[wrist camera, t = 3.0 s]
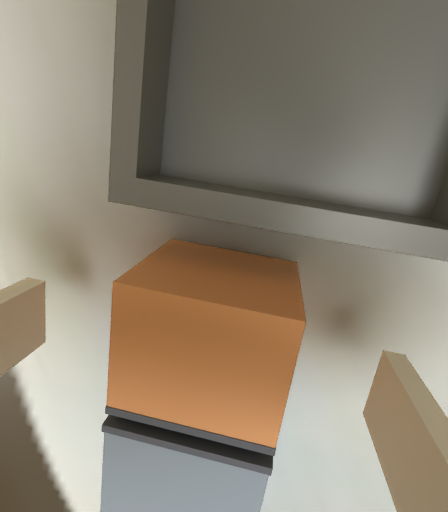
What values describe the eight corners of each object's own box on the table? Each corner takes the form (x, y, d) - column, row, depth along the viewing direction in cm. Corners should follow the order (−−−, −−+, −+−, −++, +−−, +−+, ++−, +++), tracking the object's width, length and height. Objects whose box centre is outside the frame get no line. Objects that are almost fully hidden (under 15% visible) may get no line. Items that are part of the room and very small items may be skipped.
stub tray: (172, -178, 12) (130, -308, 9) (577, -162, 10) (716, -312, 7) (144, 192, 16) (108, 201, 12) (437, 242, 14) (484, 268, 11)
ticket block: (160, 338, 18) (101, 425, 12) (275, 363, 17) (272, 470, 11) (143, 504, 21) (91, 634, 15) (238, 530, 21) (221, 677, 15)
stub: (171, 238, 16) (111, 282, 10) (297, 262, 16) (306, 322, 10) (162, 331, 18) (105, 413, 12) (276, 356, 17) (274, 456, 11)
